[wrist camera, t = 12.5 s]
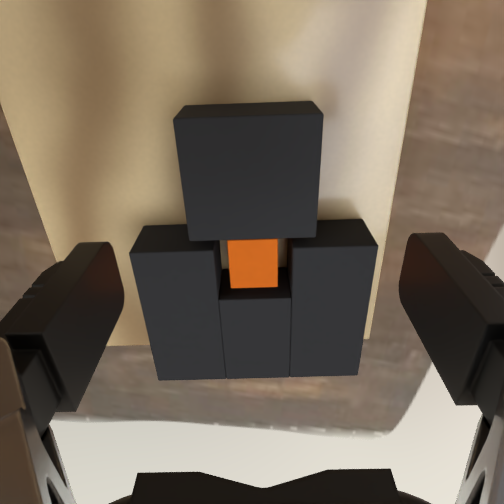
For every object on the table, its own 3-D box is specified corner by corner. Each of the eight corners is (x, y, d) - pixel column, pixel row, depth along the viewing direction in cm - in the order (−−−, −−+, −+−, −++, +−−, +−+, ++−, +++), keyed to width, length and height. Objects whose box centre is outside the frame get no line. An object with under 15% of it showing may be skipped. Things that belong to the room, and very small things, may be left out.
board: (429, -64, 15) (440, -69, 14) (365, 329, 26) (369, 339, 25) (-38, -45, 15) (-55, -49, 14) (91, 336, 26) (86, 347, 25)
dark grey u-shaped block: (362, 218, 20) (379, 245, 18) (346, 340, 25) (357, 375, 22) (143, 225, 21) (128, 253, 18) (167, 345, 25) (158, 381, 23)
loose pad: (313, 100, 17) (324, 112, 15) (305, 255, 22) (313, 286, 19) (183, 104, 17) (171, 118, 15) (201, 258, 22) (195, 289, 19)
